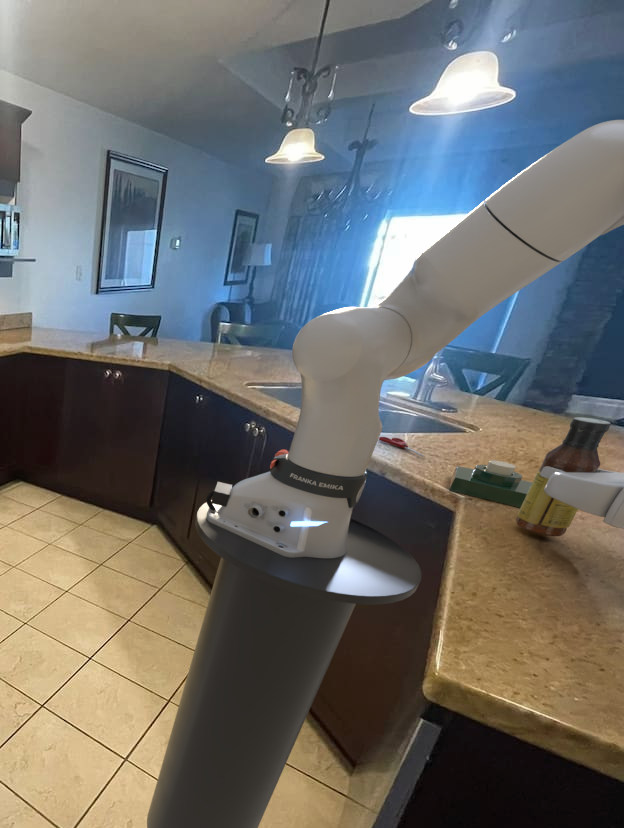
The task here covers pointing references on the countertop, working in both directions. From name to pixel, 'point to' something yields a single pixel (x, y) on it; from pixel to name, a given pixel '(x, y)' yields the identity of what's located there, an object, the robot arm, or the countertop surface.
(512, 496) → the base
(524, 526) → the sauce bottle
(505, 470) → the white short cylinder
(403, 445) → the scissors
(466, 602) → the countertop surface
